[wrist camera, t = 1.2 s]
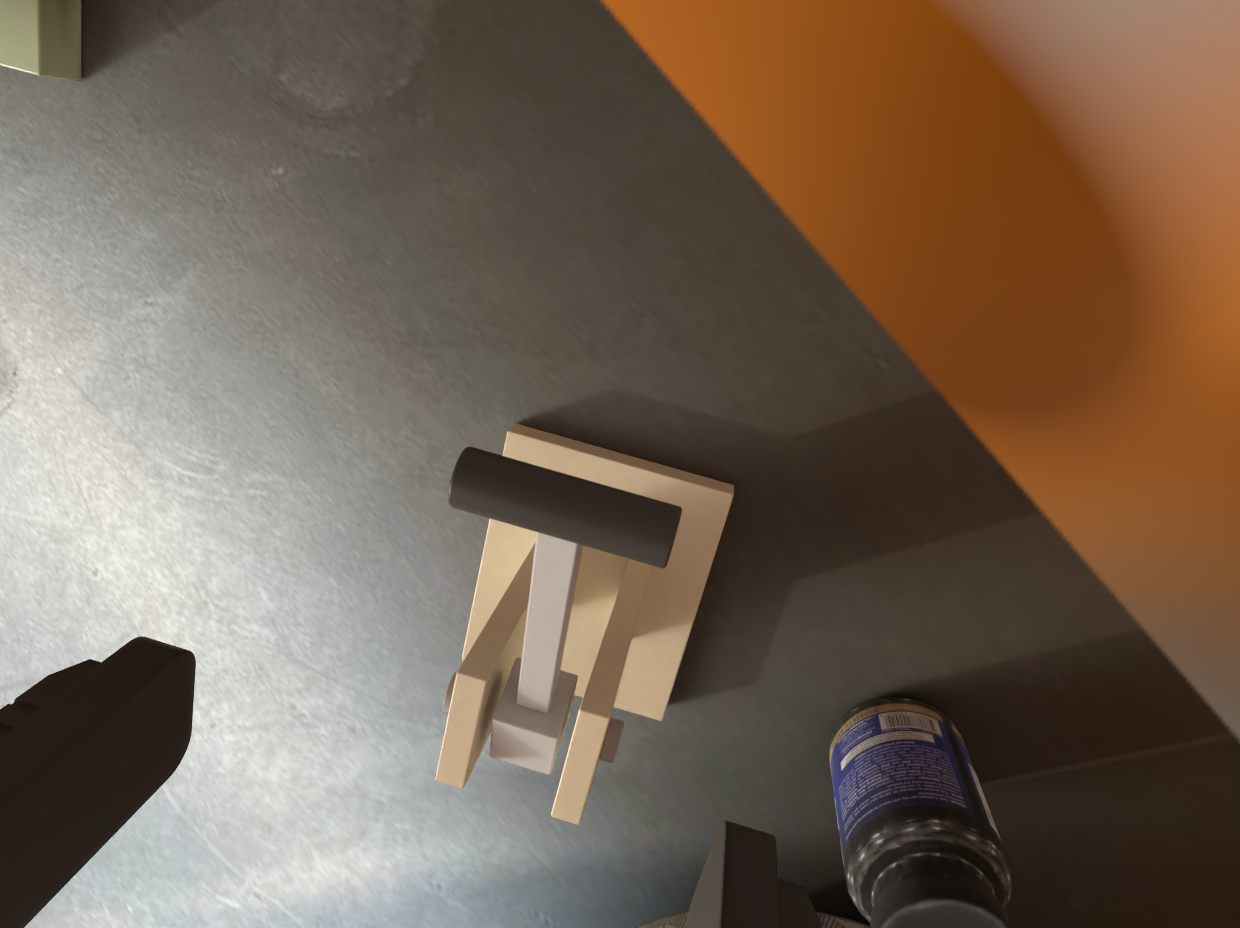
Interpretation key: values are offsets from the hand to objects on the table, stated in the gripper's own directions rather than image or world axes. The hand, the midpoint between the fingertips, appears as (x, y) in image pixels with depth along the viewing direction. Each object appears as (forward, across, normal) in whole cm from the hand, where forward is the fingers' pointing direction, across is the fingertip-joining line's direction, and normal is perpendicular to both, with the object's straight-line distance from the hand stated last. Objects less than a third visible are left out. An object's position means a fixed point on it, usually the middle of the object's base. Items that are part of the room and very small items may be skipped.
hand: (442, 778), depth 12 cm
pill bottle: (+25, -16, +14) cm, 32 cm away
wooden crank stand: (+25, 0, +10) cm, 26 cm away
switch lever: (+13, 0, +4) cm, 13 cm away
